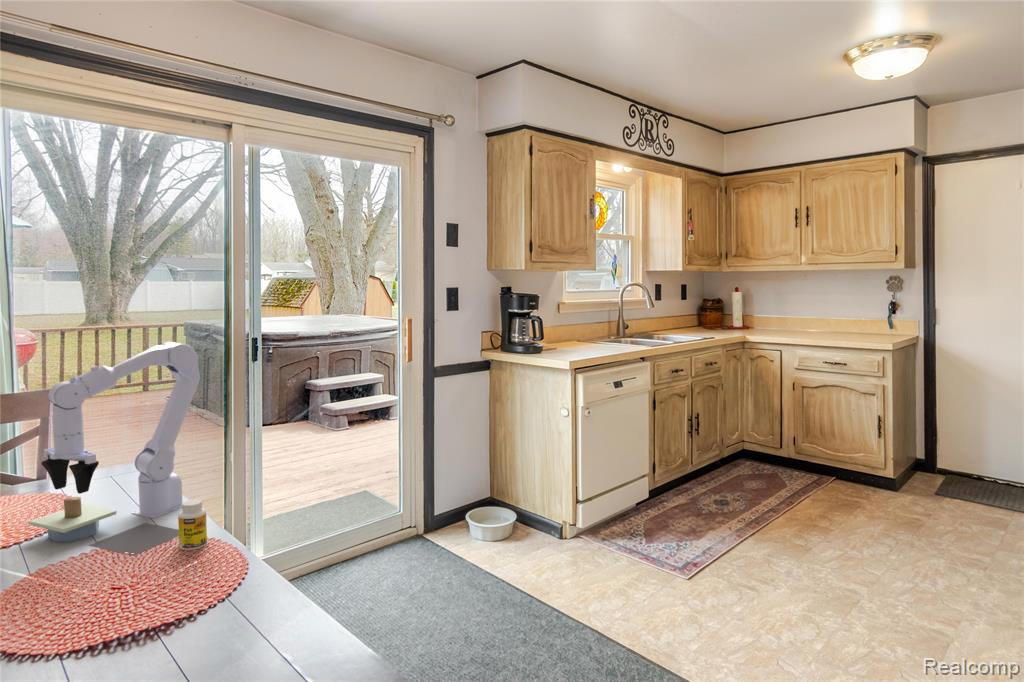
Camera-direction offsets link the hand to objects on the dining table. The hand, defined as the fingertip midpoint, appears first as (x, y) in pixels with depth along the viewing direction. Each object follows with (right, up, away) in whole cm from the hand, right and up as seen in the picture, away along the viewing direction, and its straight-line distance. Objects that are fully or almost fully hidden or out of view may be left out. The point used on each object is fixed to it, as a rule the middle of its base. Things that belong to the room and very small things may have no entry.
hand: (71, 490), depth 144 cm
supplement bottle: (+32, -11, -6) cm, 34 cm away
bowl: (+2, -10, -1) cm, 10 cm away
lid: (+2, -6, -2) cm, 7 cm away
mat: (+18, -11, -3) cm, 21 cm away
